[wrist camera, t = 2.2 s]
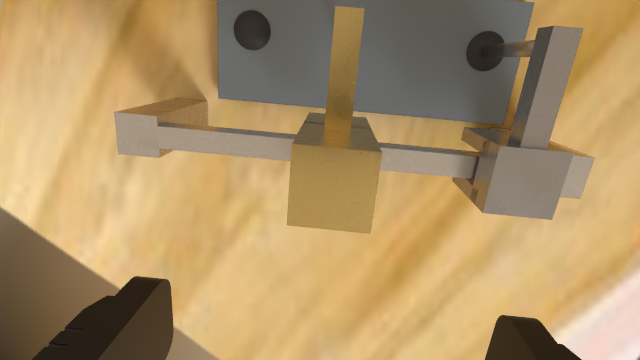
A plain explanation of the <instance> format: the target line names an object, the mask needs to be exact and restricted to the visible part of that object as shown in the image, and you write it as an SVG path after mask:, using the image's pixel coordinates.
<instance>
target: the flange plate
mask: <svg viewBox="0 0 640 360" xmlns="http://www.w3.org/2000/svg"><path fill="white" fill-rule="evenodd" d="M335 6H342V7H354V8H365V10H364V19H363V27H362V36H361V45H360V53H359V62H358V71H357V79H356V88H355V97H354V105H353V111H359V112H370V113H380V114H391V115H402V116H412V117H423V118H434V119H444V120H455V121H466V122H476V123H487V124H498V125H503V123H504V119H505V115H506V112H507V108H508V104H509V100H510V96H511V92H512V88H513V84H514V80H515V76H516V73H517V69H518V65H519V61H520V57H498V58H485V57H483V56H482V54H481V51H482V48H483V47H484V46H486V45H493V44H503V43H512V42H522V41H525V37H526V34H527V30H528V26H529V22H530V18H531V14H532V10H533V6H534V2H522V1H511V0H218V98H220V99H231V100H242V101H252V102H263V103H274V104H284V105H295V106H306V107H316V108H326V105H327V94H328V83H329V72H330V60H331V49H332V38H333V27H334V16H335Z"/></svg>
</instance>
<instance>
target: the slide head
mask: <svg viewBox="0 0 640 360" xmlns="http://www.w3.org/2000/svg"><path fill="white" fill-rule="evenodd" d="M364 10H365V8H354V7H342V6H335V16H334V27H333V38H332V49H331V60H330V72H329V83H328V94H327V105H326V114H320V113H309V114H308V116H307V118H306V120H305V122H304V123H303V125H302V127H301V129H300V130H299V132H298V134H297V136H296V137H295V139H294V141H293V143H292V150H291V166H290V183H289V199H288V215H287V225H289V226H299V227H309V228H319V229H329V230H339V231H349V232H359V233H369V234H370V232H371V226H372V219H373V212H374V205H375V198H376V192H377V185H378V178H379V171H380V165H381V158H382V151H381V149H380V146H379V144H378V142H377V140H376V138H375V136H374V134H373V132H372V130H371V127H370V125H369V123H368V121H367V119H366V118H363V117H352V114H353V105H354V97H355V88H356V79H357V71H358V62H359V53H360V45H361V36H362V27H363V19H364Z"/></svg>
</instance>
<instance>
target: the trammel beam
mask: <svg viewBox="0 0 640 360" xmlns="http://www.w3.org/2000/svg"><path fill="white" fill-rule="evenodd" d="M582 32H583V28H573V27H562V26H550V27H544V28H538V31H537V35H536V39H535V40H531V41H522V42H512V43H503V44H493V45H486V46H484V47H483V48H482V51H481V54H482V56H483V57H485V58H498V57H530V61H529V65H528V69H527V72H526V76H525V80H524V84H523V88H522V91H521V95H520V99H519V103H518V106H517V110H516V114H515V118H514V121H513V125H512V129H501V128H490V129H480V128H469V127H464V130H463V134H462V139H461V140H463V141H464V142H466V143H467V144H469V145H470V146H472V147H473V148H475V149H476V150H478V151H480V152H473V151H462V150H452V149H441V148H431V147H420V146H410V145H399V144H389V143H378V144H379V146H380V149H381V151H382V158H381V165H380V170H386V171H396V172H407V173H417V174H427V175H438V176H448V177H453V179H452V181H453V182H454V183H455V184H456V185H457V186H458V187H459V188H460V189H461V190H462V191H463V193H464V194H465V195H466V196H467V197H468V198H469V199H470V200H471V201H472V202H473V203H474V204H475V205H476V206H477V207H478V208H479V209H480V211H481V212H482V213H489V214H499V215H509V216H519V217H529V218H540V219H550V220H552V218H553V215H554V212H555V209H556V206H557V203H558V200H559V197H565V198H576V199H580V198H581V196H582V193H583V190H584V187H585V184H586V181H587V179H588V176H589V173H590V170H591V167H592V164H593V162H594V159H595V158H594V157H591V156H589V155H586V154H583V153H581V152H578V151H575V150H573V149H570V148H567V147H565V146H562V145H560V144H557V143H554V142H552V141H549V140H550V137H551V134H552V130H553V127H554V124H555V120H556V117H557V114H558V110H559V107H560V104H561V101H562V97H563V94H564V91H565V87H566V84H567V81H568V78H569V74H570V71H571V68H572V64H573V61H574V58H575V55H576V51H577V48H578V45H579V41H580V38H581V35H582ZM114 115H115V125H116V135H117V144H118V154H125V155H135V156H145V157H155V158H160V157H162V156H164V155H166V154H168V153H169V152H171V151H173V150H180V151H190V152H201V153H211V154H221V155H232V156H242V157H252V158H262V159H273V160H283V161H291V150H292V143H293V141H294V139H295V137H296V136H297V135H295V134H284V133H274V132H263V131H253V130H242V129H232V128H221V127H211V126H208V125H207V101H202V100H192V99H181V98H174V99H170V100H165V101H161V102H156V103H152V104H148V105H143V106H139V107H135V108H130V109H126V110H121V111H117V112H114Z"/></svg>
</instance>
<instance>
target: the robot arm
mask: <svg viewBox="0 0 640 360" xmlns="http://www.w3.org/2000/svg"><path fill="white" fill-rule="evenodd" d="M172 338H173V314H172V298H171V285H170V282H169V281H168V280H167V279H159V278H149V277H139V276H136V277H133V278H132V279H131V280H130V281H129V282H128V283H127V284H126V285H125V286H124V287H123V288H122V289H121V290H120V291H119V292H118V293H117V294H116V295H115V296H106V297H104V298H102V299H101V300H99V301H97V302H95V303H94V304H92V305H90V306H88V307H87V308H85V309H83V311H81V313H79V314H78V315H77V316H76V317H75V318H74V319H73V320H72V321H71V322H70V323H69V324H68V325H67V326H66V327H65V330H64V331H61V332H60V333H59V334H58V335H57V336H56V337H55V338H54V339H52V340H51V341H50V342H49V346H48V347H44V348H43V349H42V350H41V351H40V352H39V353H38V354H37V355H36V356H35V357H34V358H33V359H32V360H165V359H166V357H167V355H168V353H169V350H170V347H171V343H172ZM485 360H581V359H580V358H579V357H578V356H576V355H575V354H574V353H573V352H571V351H570V350H569V349H568V348H566V347H565V346H564V345H563V344H557V342H556V341H555V340H554V338H553V337H552V336H551V335H550V333H549V332H548V331H547V329H546V328H545V327H544V326H543V324H542V323H541V322H540V321H539V320H537V319H535V318H526V317H516V316H506V315H502V316H500V317H499V318H498V319H497V322H496V324H495V328H494V331H493V334H492V338H491V341H490V344H489V347H488V351H487V354H486V357H485Z"/></svg>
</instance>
